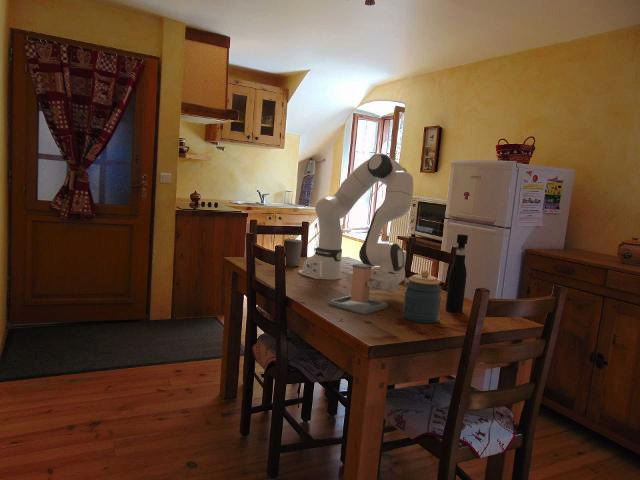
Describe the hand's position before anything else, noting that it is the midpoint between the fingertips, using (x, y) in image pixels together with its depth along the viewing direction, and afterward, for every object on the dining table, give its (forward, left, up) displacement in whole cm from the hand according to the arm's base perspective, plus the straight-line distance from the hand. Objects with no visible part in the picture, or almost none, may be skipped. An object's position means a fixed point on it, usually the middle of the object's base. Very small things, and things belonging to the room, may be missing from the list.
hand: (359, 282), depth 179 cm
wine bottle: (+27, +28, -10) cm, 40 cm away
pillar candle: (-69, +40, -10) cm, 80 cm away
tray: (0, +1, -9) cm, 9 cm away
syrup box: (-18, +64, -10) cm, 67 cm away
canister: (+23, +7, -10) cm, 26 cm away
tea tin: (0, +1, -7) cm, 7 cm away
